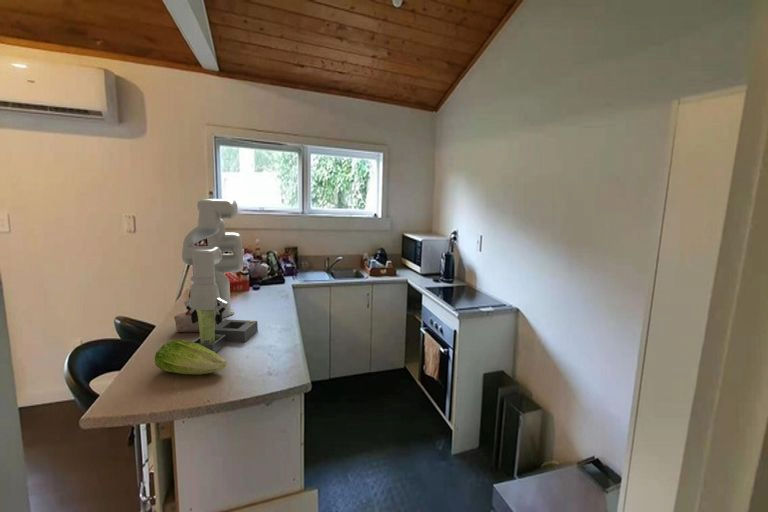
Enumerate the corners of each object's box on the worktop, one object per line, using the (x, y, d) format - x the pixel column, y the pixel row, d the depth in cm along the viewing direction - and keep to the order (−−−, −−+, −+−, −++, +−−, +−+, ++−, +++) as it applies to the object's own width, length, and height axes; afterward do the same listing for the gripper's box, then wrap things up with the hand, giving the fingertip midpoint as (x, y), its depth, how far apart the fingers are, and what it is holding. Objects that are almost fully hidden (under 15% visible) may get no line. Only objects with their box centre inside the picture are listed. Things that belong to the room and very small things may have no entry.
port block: (210, 341, 150) (209, 328, 149) (225, 329, 163) (225, 318, 162) (244, 342, 149) (244, 330, 148) (257, 331, 162) (257, 320, 161)
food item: (172, 334, 157) (171, 312, 155) (180, 327, 165) (179, 307, 163) (205, 333, 159) (203, 312, 157) (211, 327, 166) (210, 306, 165)
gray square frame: (189, 353, 138) (188, 344, 137) (204, 342, 148) (203, 333, 147) (213, 354, 137) (212, 345, 136) (226, 344, 147) (226, 334, 147)
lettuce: (208, 372, 113) (227, 338, 122) (141, 361, 117) (164, 328, 125) (222, 389, 121) (239, 356, 130) (159, 378, 125) (180, 346, 134)
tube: (205, 345, 146) (203, 299, 142) (218, 345, 145) (215, 299, 142) (198, 351, 140) (195, 303, 137) (211, 351, 140) (208, 303, 137)
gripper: (177, 282, 135) (180, 325, 137) (221, 283, 134) (223, 326, 136) (189, 277, 142) (191, 318, 145) (230, 279, 141) (232, 320, 144)
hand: (207, 322), depth 141 cm, fingers open, 9 cm apart
